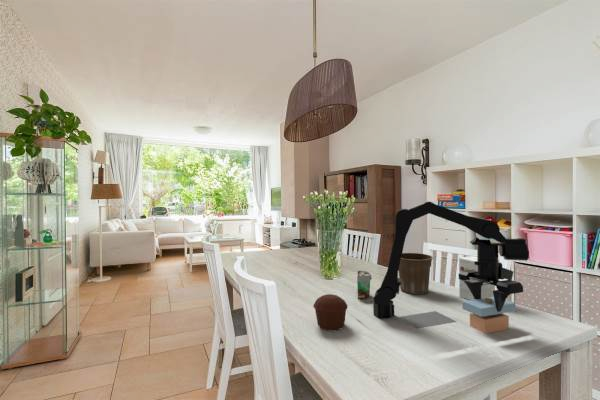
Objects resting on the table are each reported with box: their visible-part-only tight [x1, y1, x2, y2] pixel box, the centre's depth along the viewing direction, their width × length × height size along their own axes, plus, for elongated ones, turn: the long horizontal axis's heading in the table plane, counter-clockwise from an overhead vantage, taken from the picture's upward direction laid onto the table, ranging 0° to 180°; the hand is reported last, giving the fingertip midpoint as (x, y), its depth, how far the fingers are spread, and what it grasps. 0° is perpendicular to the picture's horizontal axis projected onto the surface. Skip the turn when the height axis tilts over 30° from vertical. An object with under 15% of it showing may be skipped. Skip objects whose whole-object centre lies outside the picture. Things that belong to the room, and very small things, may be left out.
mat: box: [398, 310, 457, 329], centre depth 104 cm, size 16×10×1 cm, turn 107°
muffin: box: [313, 293, 348, 331], centre depth 103 cm, size 12×11×10 cm
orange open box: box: [469, 312, 510, 334], centre depth 97 cm, size 10×6×5 cm, turn 107°
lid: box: [461, 297, 517, 317], centre depth 97 cm, size 14×7×4 cm, turn 107°
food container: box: [356, 270, 373, 301], centre depth 133 cm, size 12×6×10 cm, turn 168°
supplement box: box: [458, 255, 495, 301], centre depth 127 cm, size 10×9×17 cm
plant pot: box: [398, 252, 434, 295], centre depth 139 cm, size 16×16×16 cm
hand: (488, 307), depth 97 cm, fingers closed on lid, 7 cm apart
